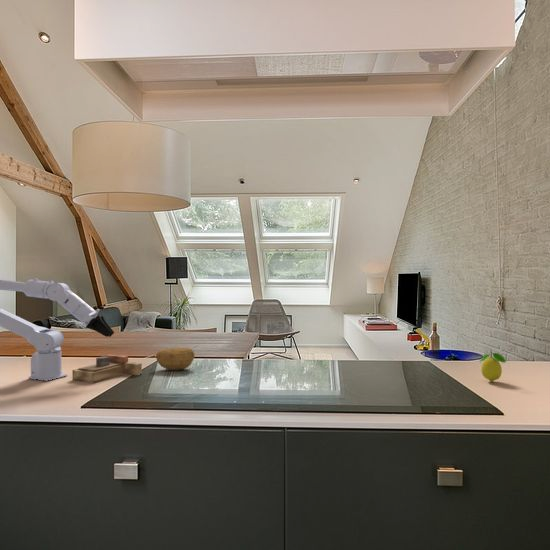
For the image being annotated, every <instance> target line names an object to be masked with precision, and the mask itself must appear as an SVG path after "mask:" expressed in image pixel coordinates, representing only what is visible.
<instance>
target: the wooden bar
mask: <svg viewBox="0 0 550 550" xmlns="http://www.w3.org/2000/svg"><path fill="white" fill-rule="evenodd" d="M105 357H110V361H112V362H121V363H125V362H129V356H128V355H120V354H106V355H105Z"/></svg>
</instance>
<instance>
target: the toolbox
mask: <svg viewBox="0 0 550 550" xmlns="http://www.w3.org/2000/svg"><path fill="white" fill-rule="evenodd" d="M142 365H143V363H141V362H132V361H128V362H126V363H123V365H120V366H116V367H113V368H109V369H105V370H101V371H97V372H88V371H81V370H79V368H77V369H72V374H71V375H72V381H76V380H79V381H78V382H83V381H85V382H84V383H90V382H91V383H92V384H95V383H99V382H103V381H106V380H110V379H113V378H116V377H120V376H124V375H128V376H129V375H130V376H136V375H137V376H141V375H142V373H143V370H142V368H143V367H142ZM140 374H141V375H140ZM91 383H90V384H91Z"/></svg>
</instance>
